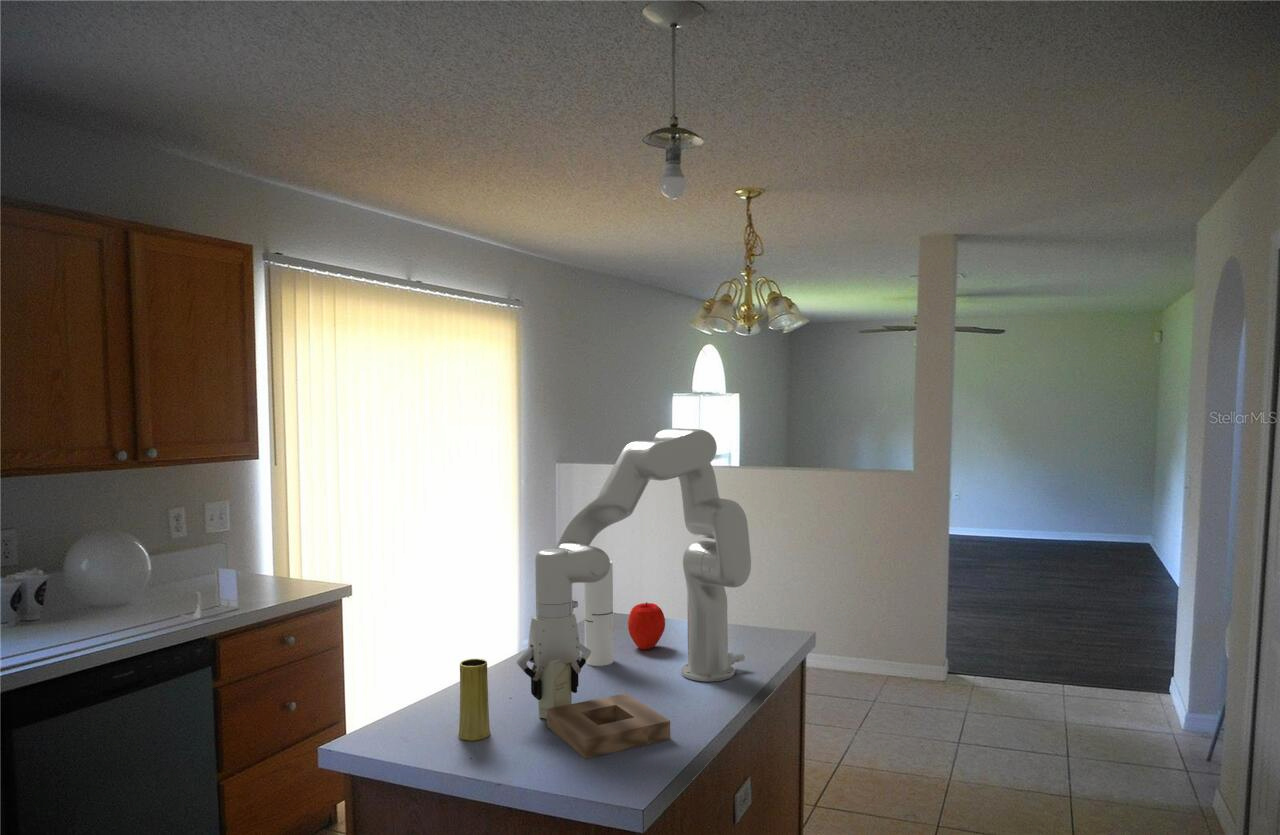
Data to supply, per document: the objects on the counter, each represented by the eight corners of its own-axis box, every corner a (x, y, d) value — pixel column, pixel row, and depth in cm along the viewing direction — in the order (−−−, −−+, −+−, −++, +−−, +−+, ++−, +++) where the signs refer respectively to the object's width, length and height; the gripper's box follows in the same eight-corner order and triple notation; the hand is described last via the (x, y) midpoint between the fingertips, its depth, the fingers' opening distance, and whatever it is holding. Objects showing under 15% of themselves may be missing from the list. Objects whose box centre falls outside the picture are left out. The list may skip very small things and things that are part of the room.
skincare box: (555, 721, 171) (554, 662, 171) (537, 717, 173) (536, 658, 173) (572, 711, 176) (572, 654, 176) (555, 708, 179) (554, 651, 178)
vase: (460, 729, 167) (459, 658, 167) (491, 728, 168) (490, 657, 167) (456, 742, 161) (455, 667, 161) (488, 740, 162) (487, 666, 161)
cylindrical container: (609, 666, 207) (608, 565, 206) (581, 665, 208) (580, 564, 208) (616, 658, 214) (615, 560, 213) (589, 656, 215) (588, 559, 215)
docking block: (626, 709, 177) (625, 693, 177) (670, 738, 162) (670, 720, 161) (546, 726, 168) (546, 708, 168) (585, 758, 153) (585, 739, 153)
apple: (665, 653, 217) (665, 606, 217) (627, 653, 217) (627, 606, 217) (665, 642, 227) (664, 597, 227) (628, 643, 227) (628, 598, 227)
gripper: (584, 600, 182) (585, 682, 182) (508, 611, 174) (509, 696, 174) (599, 608, 175) (600, 692, 176) (521, 618, 167) (522, 707, 167)
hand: (555, 693), depth 175 cm, fingers closed on skincare box, 7 cm apart
